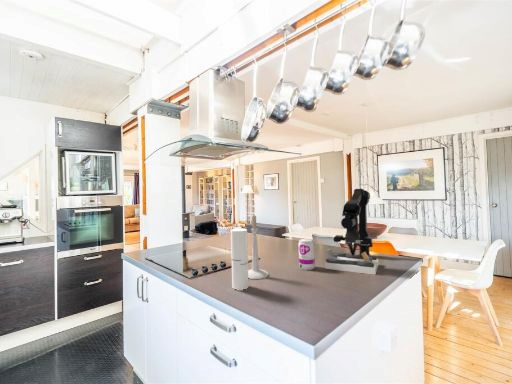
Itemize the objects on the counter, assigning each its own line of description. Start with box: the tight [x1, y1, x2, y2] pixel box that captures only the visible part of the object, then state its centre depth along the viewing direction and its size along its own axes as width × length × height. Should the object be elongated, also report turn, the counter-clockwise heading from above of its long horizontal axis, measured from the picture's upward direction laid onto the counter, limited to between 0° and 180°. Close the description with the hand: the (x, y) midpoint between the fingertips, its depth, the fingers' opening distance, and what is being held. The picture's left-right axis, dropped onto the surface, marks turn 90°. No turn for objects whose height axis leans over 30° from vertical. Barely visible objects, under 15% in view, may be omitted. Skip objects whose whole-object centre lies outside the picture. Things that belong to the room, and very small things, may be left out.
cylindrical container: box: [230, 228, 249, 291], centre depth 113 cm, size 7×7×25 cm
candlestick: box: [248, 215, 270, 280], centre depth 129 cm, size 13×13×30 cm
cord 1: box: [325, 258, 374, 267], centre depth 132 cm, size 3×24×2 cm, turn 61°
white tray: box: [324, 254, 379, 275], centre depth 138 cm, size 18×24×5 cm
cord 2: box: [333, 252, 378, 260], centre depth 145 cm, size 3×24×2 cm, turn 60°
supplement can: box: [298, 238, 316, 271], centre depth 138 cm, size 8×8×15 cm
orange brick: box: [361, 252, 370, 260], centre depth 135 cm, size 4×2×5 cm, turn 151°
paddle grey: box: [326, 248, 335, 257], centre depth 144 cm, size 4×2×5 cm, turn 150°
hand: (353, 255), depth 138 cm, fingers closed
